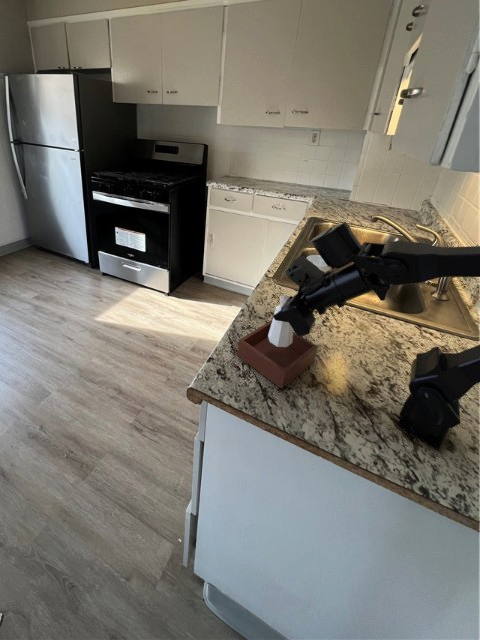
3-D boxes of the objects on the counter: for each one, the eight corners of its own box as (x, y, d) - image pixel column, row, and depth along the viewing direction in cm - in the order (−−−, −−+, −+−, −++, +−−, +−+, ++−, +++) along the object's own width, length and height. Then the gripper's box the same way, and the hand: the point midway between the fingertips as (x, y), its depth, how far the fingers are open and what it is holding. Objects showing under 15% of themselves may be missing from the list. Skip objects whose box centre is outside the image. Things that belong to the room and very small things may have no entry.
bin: (314, 361, 73) (318, 346, 71) (281, 389, 65) (285, 372, 63) (270, 333, 81) (272, 319, 79) (237, 355, 74) (238, 339, 72)
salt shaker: (270, 329, 74) (276, 289, 69) (294, 336, 72) (302, 295, 67) (265, 343, 69) (271, 301, 65) (290, 351, 67) (298, 308, 63)
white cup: (299, 280, 107) (304, 253, 103) (323, 282, 106) (329, 256, 102) (303, 292, 100) (309, 264, 96) (328, 294, 99) (336, 267, 95)
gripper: (330, 235, 65) (273, 267, 76) (300, 267, 52) (236, 301, 62) (362, 279, 65) (300, 306, 75) (340, 324, 51) (268, 348, 61)
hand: (278, 313), depth 68 cm, fingers closed on salt shaker, 4 cm apart
